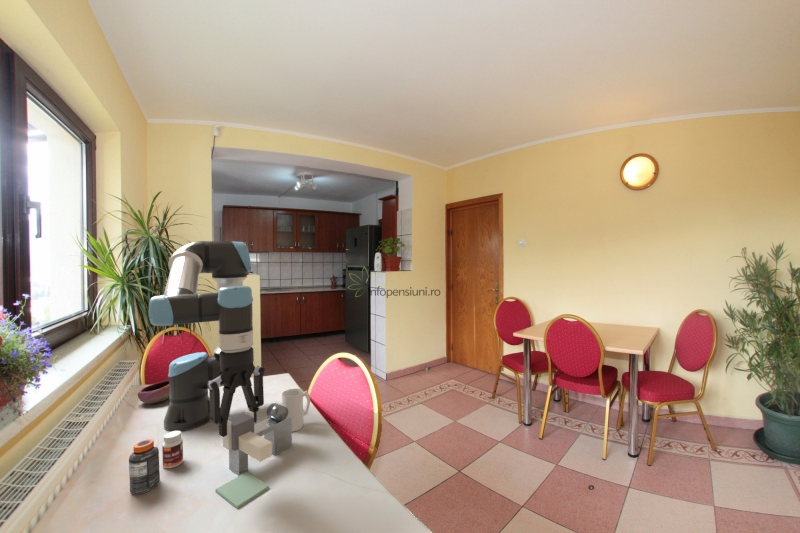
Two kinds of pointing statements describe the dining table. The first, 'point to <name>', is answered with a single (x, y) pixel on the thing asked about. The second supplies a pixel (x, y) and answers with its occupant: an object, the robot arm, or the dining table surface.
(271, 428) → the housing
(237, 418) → the plug
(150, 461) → the pill bottle
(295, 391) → the mug
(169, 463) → the pill bottle
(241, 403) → the dining table surface
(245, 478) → the mat
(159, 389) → the bowl
